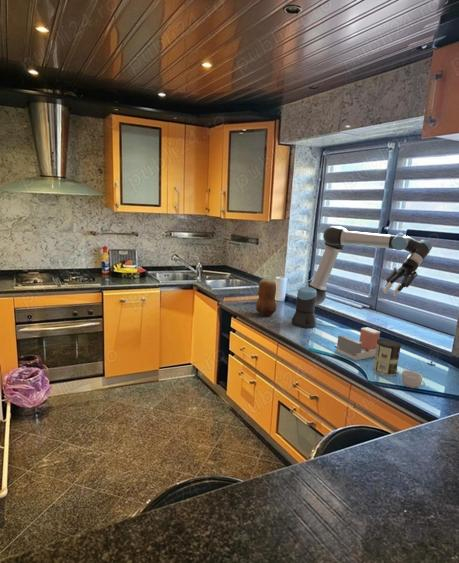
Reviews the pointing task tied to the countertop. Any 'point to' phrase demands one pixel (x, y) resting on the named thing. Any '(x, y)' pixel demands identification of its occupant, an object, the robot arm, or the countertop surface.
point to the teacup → (412, 379)
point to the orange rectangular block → (369, 338)
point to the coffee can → (386, 357)
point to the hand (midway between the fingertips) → (389, 293)
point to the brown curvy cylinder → (266, 297)
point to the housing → (353, 348)
